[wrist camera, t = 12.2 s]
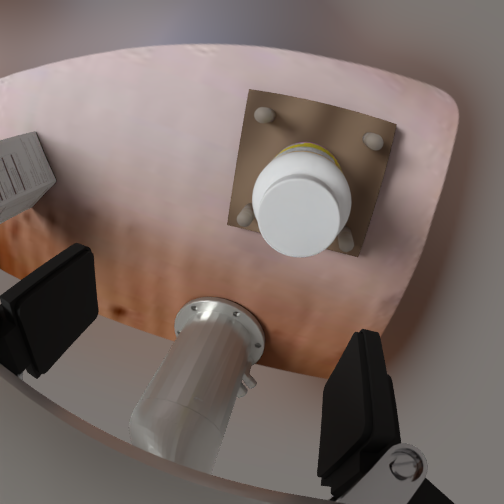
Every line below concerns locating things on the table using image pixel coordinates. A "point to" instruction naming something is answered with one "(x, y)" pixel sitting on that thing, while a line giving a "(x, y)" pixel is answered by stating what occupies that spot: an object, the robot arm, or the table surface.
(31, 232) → the table surface
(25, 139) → the supplement box
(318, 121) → the board
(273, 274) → the table surface
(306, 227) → the supplement bottle
